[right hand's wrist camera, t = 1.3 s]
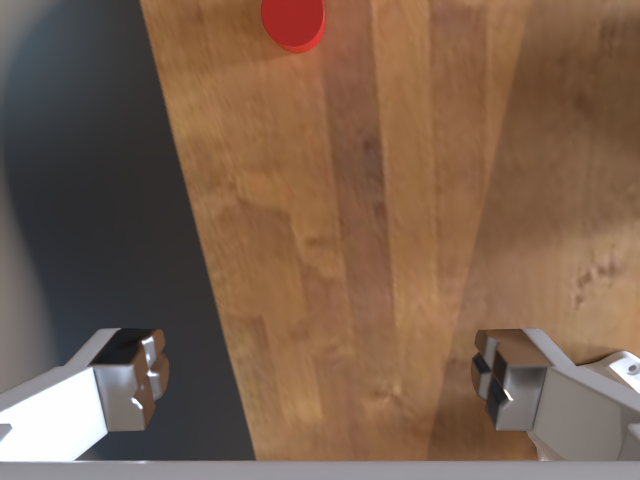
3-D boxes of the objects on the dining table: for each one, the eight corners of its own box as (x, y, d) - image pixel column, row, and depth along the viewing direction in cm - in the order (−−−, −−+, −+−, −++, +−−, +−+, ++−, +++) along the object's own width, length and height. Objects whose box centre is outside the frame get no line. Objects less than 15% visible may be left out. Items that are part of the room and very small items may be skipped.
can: (271, -13, 35) (262, -28, 31) (327, -7, 36) (327, -21, 31) (268, 50, 37) (259, 44, 33) (322, 55, 37) (321, 50, 33)
